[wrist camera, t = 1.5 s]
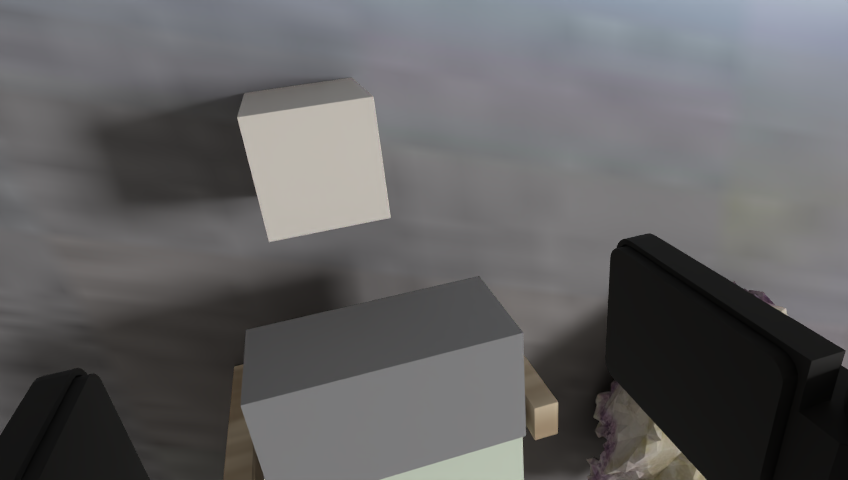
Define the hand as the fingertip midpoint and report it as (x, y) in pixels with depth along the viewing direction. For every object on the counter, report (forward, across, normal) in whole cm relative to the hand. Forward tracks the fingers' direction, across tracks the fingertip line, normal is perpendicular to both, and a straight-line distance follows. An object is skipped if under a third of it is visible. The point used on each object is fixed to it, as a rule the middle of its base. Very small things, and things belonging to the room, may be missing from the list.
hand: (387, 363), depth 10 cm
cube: (+18, 0, 0) cm, 18 cm away
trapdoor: (+13, -1, +17) cm, 21 cm away
